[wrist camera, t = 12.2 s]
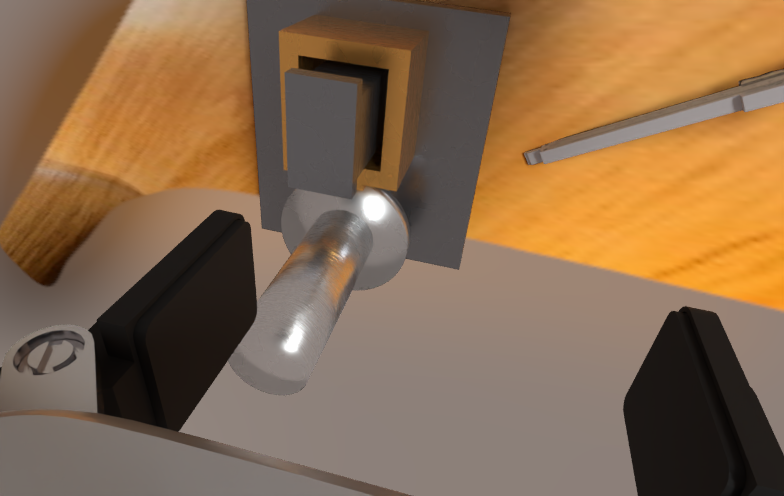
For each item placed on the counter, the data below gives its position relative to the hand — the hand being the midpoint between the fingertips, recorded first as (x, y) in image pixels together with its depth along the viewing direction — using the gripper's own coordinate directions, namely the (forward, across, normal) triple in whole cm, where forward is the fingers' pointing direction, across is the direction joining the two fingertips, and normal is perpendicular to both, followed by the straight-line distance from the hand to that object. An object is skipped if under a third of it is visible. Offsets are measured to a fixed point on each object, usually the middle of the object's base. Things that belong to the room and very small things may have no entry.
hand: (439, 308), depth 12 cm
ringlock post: (+28, +9, +8) cm, 31 cm away
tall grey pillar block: (+27, +9, +4) cm, 29 cm away
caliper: (+29, -12, +2) cm, 31 cm away
